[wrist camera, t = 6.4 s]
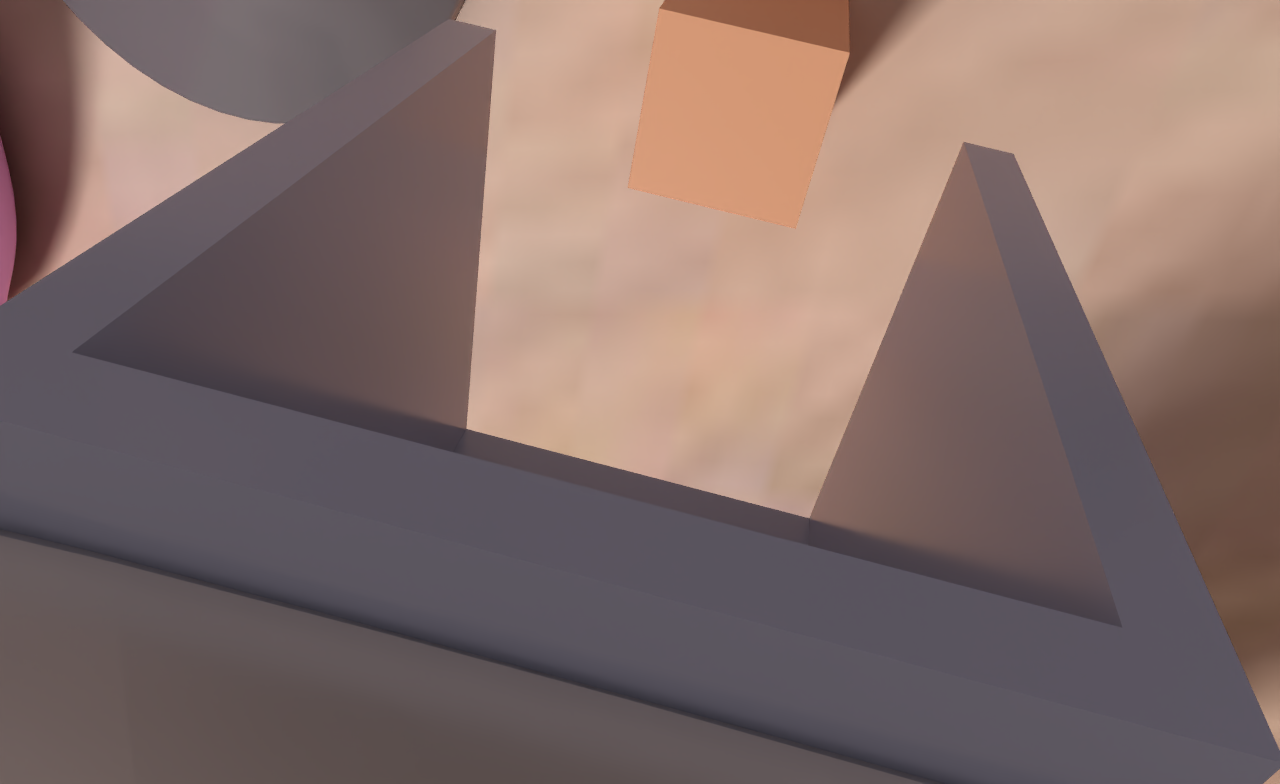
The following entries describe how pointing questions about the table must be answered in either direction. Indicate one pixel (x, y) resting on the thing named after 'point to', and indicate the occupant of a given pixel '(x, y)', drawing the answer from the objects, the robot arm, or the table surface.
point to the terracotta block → (740, 103)
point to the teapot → (6, 227)
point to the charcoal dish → (259, 46)
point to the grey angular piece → (621, 500)
